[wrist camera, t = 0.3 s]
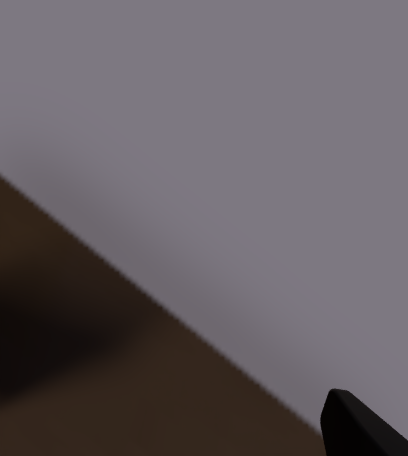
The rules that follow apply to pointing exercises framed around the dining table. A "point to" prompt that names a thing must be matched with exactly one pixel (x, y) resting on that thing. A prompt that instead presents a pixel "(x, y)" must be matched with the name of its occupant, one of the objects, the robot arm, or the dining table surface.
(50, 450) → the dining table surface
